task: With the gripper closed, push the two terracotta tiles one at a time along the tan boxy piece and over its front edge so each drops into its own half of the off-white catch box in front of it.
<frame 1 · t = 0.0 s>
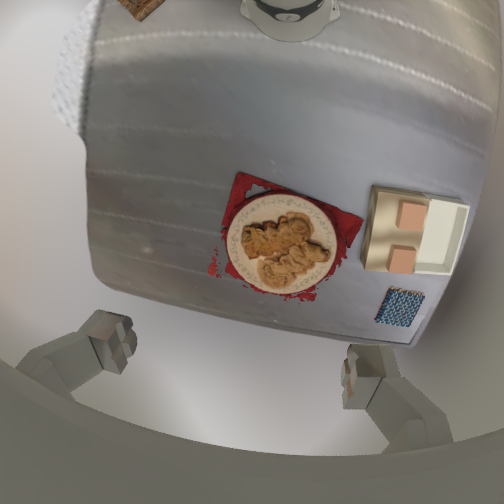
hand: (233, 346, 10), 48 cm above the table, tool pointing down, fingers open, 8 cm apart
plate with food: (282, 246, 61), on the table
woven mat: (399, 305, 63), on the table
catch box: (433, 231, 53), on the table
terracotta tile b: (400, 257, 52), point 5 cm above the table, touching tan boxy piece
terracotta tile a: (409, 214, 48), point 5 cm above the table, touching tan boxy piece
tan boxy piece: (391, 226, 55), on the table
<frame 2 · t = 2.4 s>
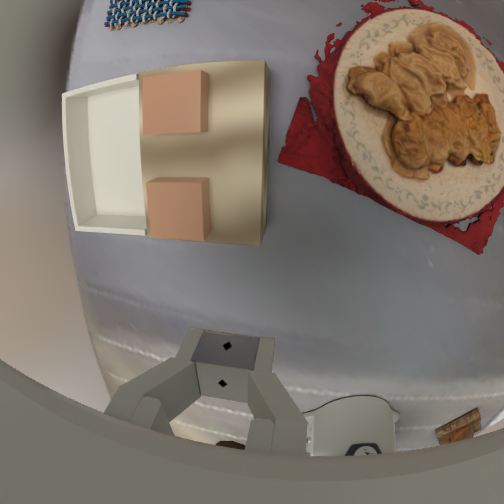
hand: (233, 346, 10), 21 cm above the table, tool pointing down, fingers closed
plate with food: (433, 105, 22), on the table
catch box: (123, 152, 29), on the table
terracotta tile b: (179, 103, 21), point 5 cm above the table, touching tan boxy piece
terracotta tile a: (182, 204, 25), point 5 cm above the table, touching tan boxy piece
bird sculpture: (458, 425, 43), on the table
tan boxy piece: (213, 148, 28), on the table
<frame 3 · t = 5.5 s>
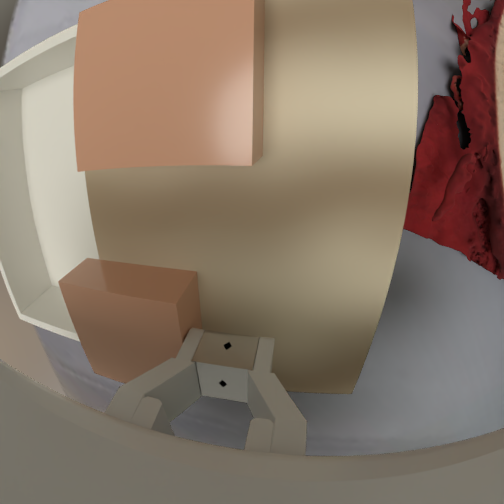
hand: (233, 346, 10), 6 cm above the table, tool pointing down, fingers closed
catch box: (77, 186, 15), on the table
terracotta tile b: (180, 76, 7), point 5 cm above the table, touching tan boxy piece
terracotta tile a: (146, 316, 11), point 5 cm above the table, touching tan boxy piece, gripper
tan boxy piece: (253, 184, 13), on the table
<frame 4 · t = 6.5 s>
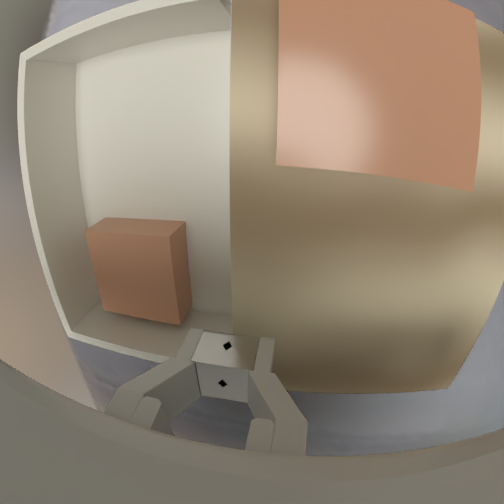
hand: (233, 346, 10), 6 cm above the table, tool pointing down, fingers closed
catch box: (153, 182, 14), on the table
terracotta tile b: (371, 80, 7), point 5 cm above the table, touching tan boxy piece
terracotta tile a: (130, 278, 14), point 3 cm above the table, tilted 180°, touching catch box
tan boxy piece: (369, 193, 13), on the table
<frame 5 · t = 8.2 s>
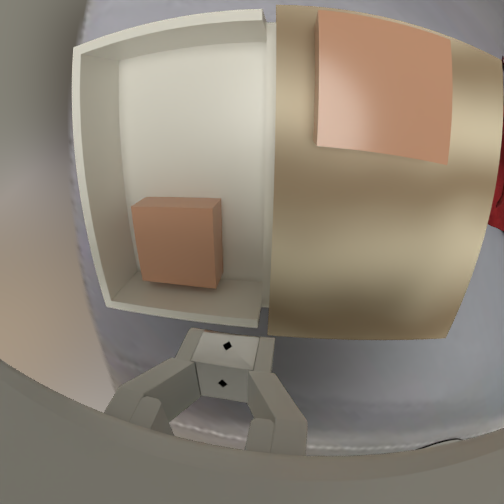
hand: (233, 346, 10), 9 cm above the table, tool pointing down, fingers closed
catch box: (191, 165, 17), on the table
terracotta tile b: (375, 89, 9), point 5 cm above the table, touching tan boxy piece
terracotta tile a: (173, 248, 17), point 3 cm above the table, tilted 180°, touching catch box
tan boxy piece: (371, 175, 16), on the table
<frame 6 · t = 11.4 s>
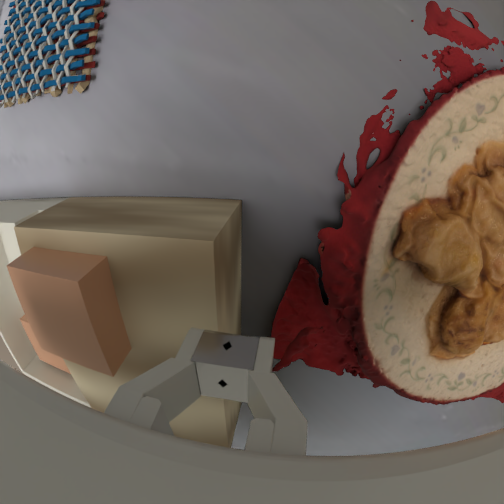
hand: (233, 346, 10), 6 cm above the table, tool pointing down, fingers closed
woven mat: (55, 30, 11), on the table
catch box: (50, 292, 19), on the table
terracotta tile b: (78, 298, 12), point 5 cm above the table, touching tan boxy piece
terracotta tile a: (46, 348, 19), point 3 cm above the table, tilted 180°, touching catch box
tan boxy piece: (159, 316, 18), on the table
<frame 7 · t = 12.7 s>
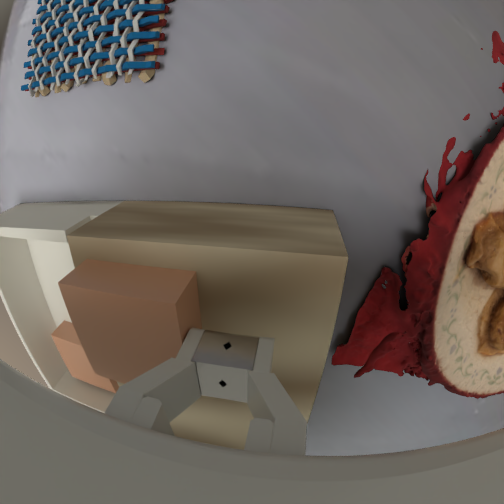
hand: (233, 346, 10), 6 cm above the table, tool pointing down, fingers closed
woven mat: (102, 12, 11), on the table
catch box: (87, 304, 19), on the table
terracotta tile b: (146, 316, 11), point 5 cm above the table, touching tan boxy piece
terracotta tile a: (82, 365, 19), point 3 cm above the table, tilted 180°, touching catch box
tan boxy piece: (224, 329, 18), on the table
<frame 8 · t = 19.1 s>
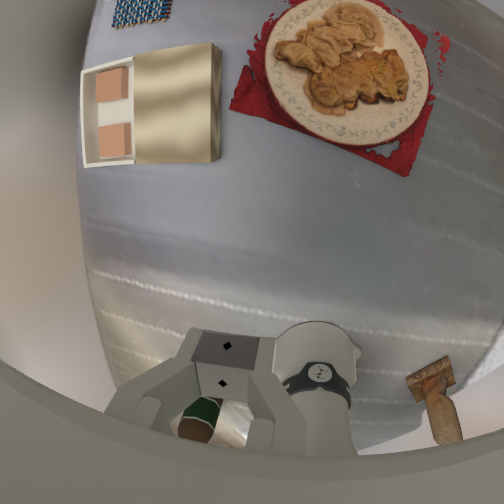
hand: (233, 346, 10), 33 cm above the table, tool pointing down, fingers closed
plate with food: (348, 62, 32), on the table
woven mat: (146, 1, 30), on the table
catch box: (122, 112, 38), on the table
terracotta tile b: (108, 85, 34), point 3 cm above the table, tilted 180°, touching catch box
terracotta tile a: (111, 140, 38), point 3 cm above the table, tilted 180°, touching catch box
bird sculpture: (430, 377, 53), on the table
tan boxy piece: (183, 105, 37), on the table
beer bottle: (209, 389, 63), on the table
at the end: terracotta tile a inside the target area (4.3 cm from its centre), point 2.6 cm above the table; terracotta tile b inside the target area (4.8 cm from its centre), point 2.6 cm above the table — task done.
